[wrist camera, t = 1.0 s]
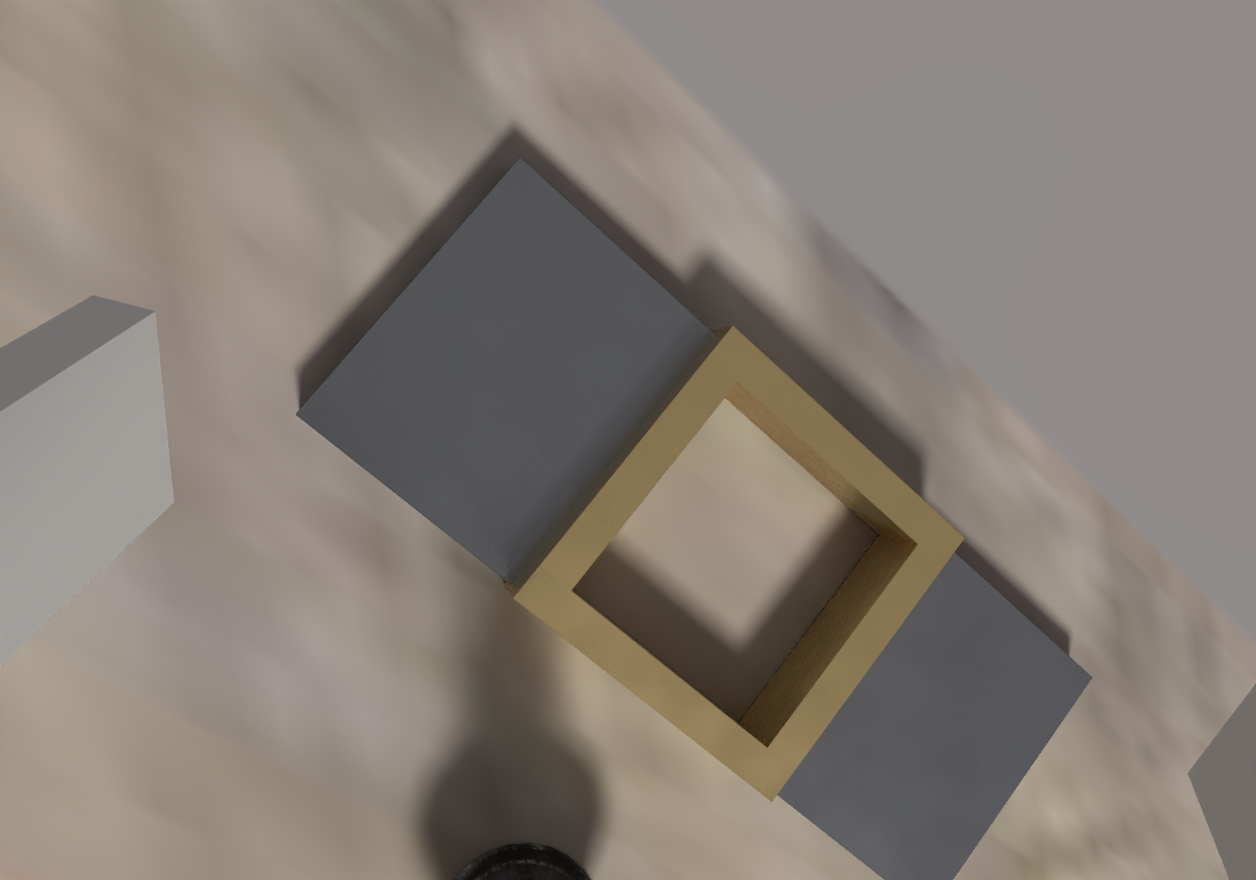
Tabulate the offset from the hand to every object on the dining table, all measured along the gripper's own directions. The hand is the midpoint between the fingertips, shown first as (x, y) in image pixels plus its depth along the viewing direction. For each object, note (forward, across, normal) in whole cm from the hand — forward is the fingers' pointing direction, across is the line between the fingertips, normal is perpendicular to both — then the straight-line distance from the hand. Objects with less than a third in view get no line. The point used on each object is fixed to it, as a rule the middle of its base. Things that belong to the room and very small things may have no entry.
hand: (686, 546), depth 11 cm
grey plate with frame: (+16, +2, -13) cm, 21 cm away
